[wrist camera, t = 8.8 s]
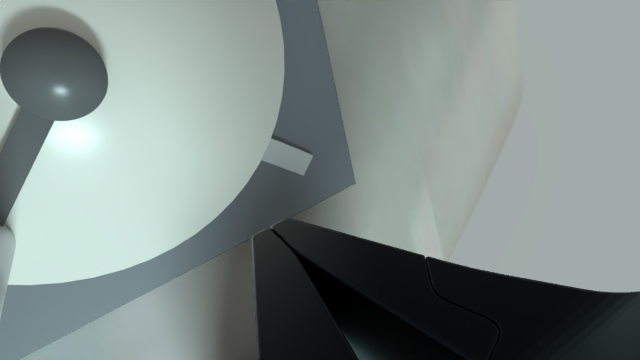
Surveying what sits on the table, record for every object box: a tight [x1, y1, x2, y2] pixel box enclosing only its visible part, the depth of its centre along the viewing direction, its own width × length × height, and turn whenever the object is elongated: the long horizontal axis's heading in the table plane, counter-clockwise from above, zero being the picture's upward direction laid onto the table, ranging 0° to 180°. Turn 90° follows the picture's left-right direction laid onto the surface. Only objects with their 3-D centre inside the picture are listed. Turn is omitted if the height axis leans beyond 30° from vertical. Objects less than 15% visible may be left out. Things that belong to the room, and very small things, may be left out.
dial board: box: [0, 0, 355, 360], centre depth 15 cm, size 22×22×1 cm
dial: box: [0, 0, 285, 318], centre depth 12 cm, size 17×17×6 cm
